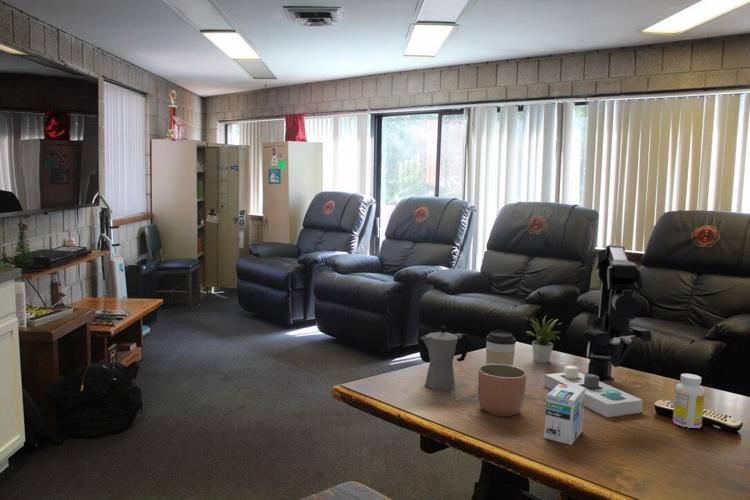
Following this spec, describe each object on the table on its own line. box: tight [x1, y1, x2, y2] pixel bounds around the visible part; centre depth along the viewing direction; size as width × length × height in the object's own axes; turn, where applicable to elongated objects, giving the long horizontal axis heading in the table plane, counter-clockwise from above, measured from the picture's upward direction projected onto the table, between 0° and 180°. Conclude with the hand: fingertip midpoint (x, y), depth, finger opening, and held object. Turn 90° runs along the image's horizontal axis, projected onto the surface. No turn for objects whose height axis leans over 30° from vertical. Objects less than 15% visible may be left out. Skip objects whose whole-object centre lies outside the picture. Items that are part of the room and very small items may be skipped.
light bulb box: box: [543, 384, 585, 446], centre depth 145 cm, size 11×7×11 cm, turn 148°
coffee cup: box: [485, 329, 517, 366], centre depth 185 cm, size 9×9×15 cm
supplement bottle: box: [672, 373, 705, 429], centre depth 155 cm, size 7×7×13 cm
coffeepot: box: [420, 325, 472, 392], centre depth 177 cm, size 15×9×18 cm, turn 101°
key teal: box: [605, 389, 621, 400], centre depth 164 cm, size 4×4×4 cm
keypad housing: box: [543, 372, 644, 418], centre depth 172 cm, size 12×26×4 cm, turn 22°
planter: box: [477, 364, 528, 417], centre depth 159 cm, size 12×12×11 cm
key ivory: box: [563, 365, 580, 381], centre depth 180 cm, size 4×4×4 cm
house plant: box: [521, 314, 562, 364], centre depth 208 cm, size 14×14×16 cm
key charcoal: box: [584, 373, 599, 390], centre depth 172 cm, size 4×4×4 cm
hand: (615, 366), depth 163 cm, fingers closed
